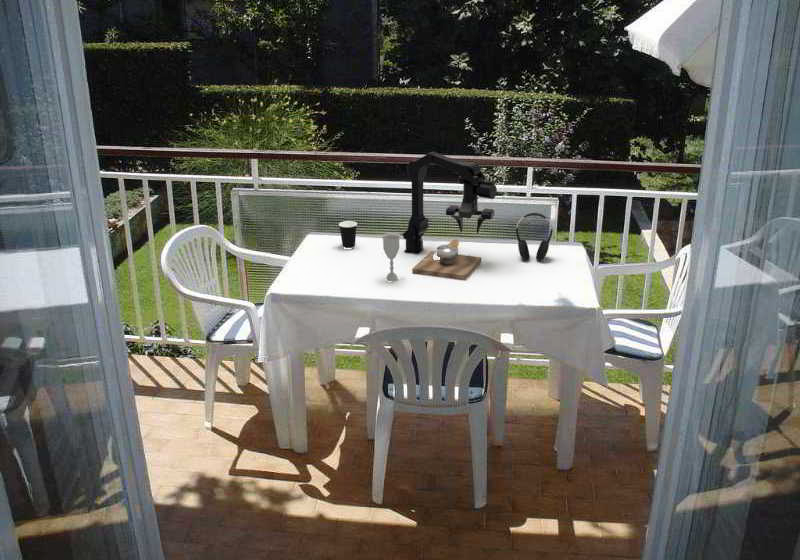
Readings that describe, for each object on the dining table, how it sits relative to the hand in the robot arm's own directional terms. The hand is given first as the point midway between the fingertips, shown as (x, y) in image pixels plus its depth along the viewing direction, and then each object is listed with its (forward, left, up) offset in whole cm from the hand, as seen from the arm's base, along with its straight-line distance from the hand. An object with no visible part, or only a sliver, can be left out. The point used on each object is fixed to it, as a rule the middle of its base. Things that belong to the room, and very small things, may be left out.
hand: (469, 232), depth 312 cm
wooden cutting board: (-6, -8, -13) cm, 17 cm away
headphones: (+24, +13, -13) cm, 30 cm away
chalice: (-22, -28, -13) cm, 38 cm away
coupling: (-6, -5, -8) cm, 11 cm away
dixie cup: (-54, 0, -13) cm, 56 cm away
